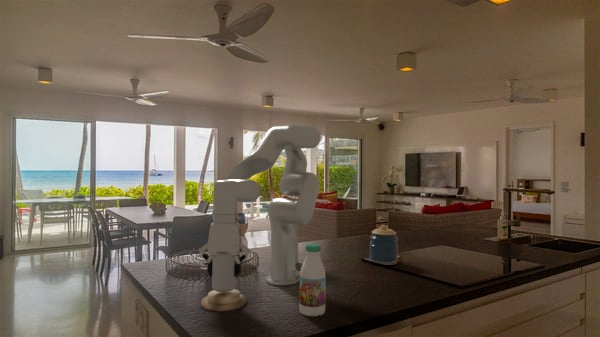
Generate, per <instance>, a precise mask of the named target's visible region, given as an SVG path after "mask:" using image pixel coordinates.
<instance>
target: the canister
mask: <svg viewBox="0 0 600 337" xmlns="http://www.w3.org/2000/svg"><path fill="white" fill-rule="evenodd" d="M371 233H372V234H371V235H370V236H369V239H370V241H369V242H370V243H369V259H371V260H374V261H379V262H392V261H395V260H396V257H397V256H398V257H399V253H398V251H399V245H398V240H399V237H398V236H397V232H396V231H394V230H393V229H390V228H387V225H386V224H382V225H381V226H380V228H375V229H373V230H372V231H371Z"/></svg>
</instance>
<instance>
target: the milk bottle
mask: <svg viewBox="0 0 600 337" xmlns="http://www.w3.org/2000/svg"><path fill="white" fill-rule="evenodd" d="M304 246H305V251H304V253H305V258H304V261H303V262H302V265H301V267H300V271H301V272H300V277H299V301H298V302H299V303H298V304H299V305H298V306H299V308H298V310H299V313H300V314H302V315H304V316H306V317H318V316H319V315H320V316H323V315H324V314H325V312H326V289H327V288H326V270H325V266H324V263H323V261H322V258H321V250H322V246H321V244H318V243H307V244H305V245H304ZM320 316H319V317H320Z"/></svg>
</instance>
